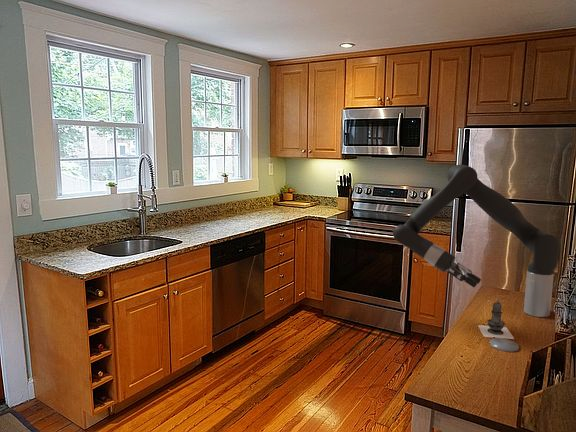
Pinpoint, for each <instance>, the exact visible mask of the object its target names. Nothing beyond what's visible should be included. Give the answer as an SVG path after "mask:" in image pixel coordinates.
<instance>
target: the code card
mask: <svg viewBox="0 0 576 432" xmlns="http://www.w3.org/2000/svg"><path fill="white" fill-rule="evenodd" d="M477 327H478V328H479V330H480V332H481V334H482V335H483V337H484V338H493V337H495V338H503V339H508V340H510V339H511V340H515V338H514V336H513V335H512V333H511V332H510V330H509V329H508V328H507V327H506V326H504V327H503V329H501V330H502V331H503V334H501V335H496V334H492V333H489V332H488V331H487V330H488V329H489V328H490V327H489V325H479V324H478V325H477Z"/></svg>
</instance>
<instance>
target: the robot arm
mask: <svg viewBox="0 0 576 432" xmlns="http://www.w3.org/2000/svg"><path fill="white" fill-rule="evenodd" d="M446 178H447V180H448V182H447V184H445V186H444V187H443V188H442V189H441V190H440V191H438V192H437V193H435V194H433V196H431V197H429V198H428V199H426V200H425V201H424V202H422V203H421V204H420V205H419V206H418V207H417V208H416V209H415V210H414V211H413V212H412V213H411V214H410V216H409V218H408V220H407V221H406V222H404V224H399V225H396V226H395V227H394V228H393V231H392V235H393V239H394V240H396V242H398V243H400V244H401V245H403V246H404V247H406V248H407V249H410V250H411V251H412V252H413V253H415V254H416V255H417V256H419V257H420V258H422V259H424V260H425V261H426V262H427V263H428V264H430V265H431V266H433V267H434V268H436V269H437V270H439V271H440V272H442V273H448V274H450V275H451V276H452V277H454V278H456V279H457V280H459V282H464V283H466V284H468V285H469V286H471V287H472V288H475V287H477V285H478V284H480V283H481V281H482V279H481V278H480V277H479V276H477V274H476V275H475V274H474V273H473V272H472V270H471V269H469V268H467V267H466V266H465V265H463V264H461V263H460V262H457V263H455V260H456V256H455V255H454V254H452V253H451V252H449V251H447V250H446V249H444V248H443V247H441V246H439V245H437V244H435V243H434V242H432V241H430V240H429V239H427V238H426V237H424V236H421V234H420V232H421V231H422V229H424V228H425V226H426V225H428V224H429V223H430V222H431V221H432V220H433V219H434V218H436V216H437V215H438V214H439V213H440V212H442V210H444V208H446V207H447V206H448V205H449V204H450V203H452V202H453V201H454V200H456V199H457V198H458V197H460V196H461V195H463V194H465V195H467V196H468V197H469V198H470V199H471V200H472V201H473V202H474V203H475V204H476V205H477V206H478V207H479V208H480V209H481V210H482V211H483V212H484V213H486V214H487V216H489V218H491V219H492V220H494V221H495V222H496V223H497V224H499V225H500V226H501V227H502V228H504V229H506V230H508V231H509V233H510V232H511V233H512V235H514V236H515V237H516V238H517V239H518V240H519V241H520V242H521V243H522V244H523V245H524V247H526V248H527V249H528V250H529V251H530V252H532V253H533V259H532V262H528V263H527V268H526V279H525V293H524V301H523V302H524V303H523V312H524V313H525V314H527V315H529V316H532V317H533V316H534V317H537V318H538V317H539V318H547V317H549V316H550V315H551V307H552V306H551V305H552V295H553V294H552V293H553V285H554V275H555V270H556V269H557V267H558V261H559V253H560V241H559V239H558V238H557V236H555V235H554V234H552V233H548V232H546V231H544V230H541V229H539V228H538V227H537V226H535V225H533V224H532V223H531V222H530V221H528V220H527V219H526V218H525V216H524V215H523V213H522V211H521V210H520V209H519V208H518V207H517V206H516V205H515V204H514V203H513V202H512V201H511V200H510V199H508V198H507V197H506V196H504V195H502V194H501V193H499V192H498V191H496V190H495V189H493V188H492V187H490V186H487V185H486V184H485V183H483V182H482V181H481V180H480V179H479V178H478V173H477V171H476V169H474V168H473V167H472V166H469V165H465V164H455V165H453V166H451V167H450V168H449V169H448V171H447V176H446Z"/></svg>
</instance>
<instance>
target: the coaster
mask: <svg viewBox="0 0 576 432" xmlns="http://www.w3.org/2000/svg"><path fill="white" fill-rule="evenodd" d="M489 343H490V344H489V345H490V346H491V347H492V348H493V349H496V350H498V351H500V352H507V353H513V352H517V351H519V350H520V346H519V344H518V343H517V342H515V341H513V340H512V339H511V340H510V339H507V338H491V339H490V340H489Z"/></svg>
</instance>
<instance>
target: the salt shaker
mask: <svg viewBox="0 0 576 432" xmlns="http://www.w3.org/2000/svg"><path fill="white" fill-rule="evenodd" d="M502 305H503V304H502V303H501V302H500V301H499V300H496V302H493V304H492V310H491V317H490V318H489V319H488V320H487V321H486V322H487V324H488V325H487V326H489V327H490V328H489V329H488V330H487V331H488V332H489V333H492V334H496V335H501V334H503V331H502V330H501V329H503V327H505V325H506V323H505V322H504V320H502V315H503V312H502V308H503V306H502Z"/></svg>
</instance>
